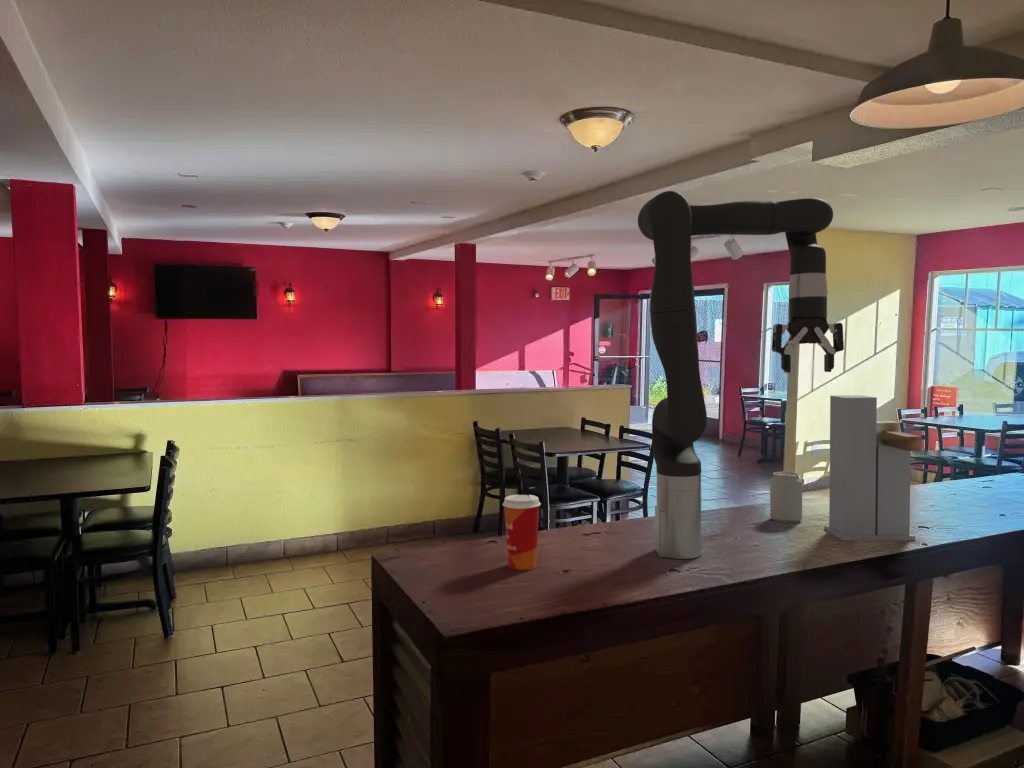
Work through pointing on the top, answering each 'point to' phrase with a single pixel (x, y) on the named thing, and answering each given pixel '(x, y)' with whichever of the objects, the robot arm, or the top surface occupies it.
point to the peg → (896, 436)
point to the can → (786, 497)
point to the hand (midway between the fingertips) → (807, 372)
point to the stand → (865, 476)
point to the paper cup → (522, 530)
